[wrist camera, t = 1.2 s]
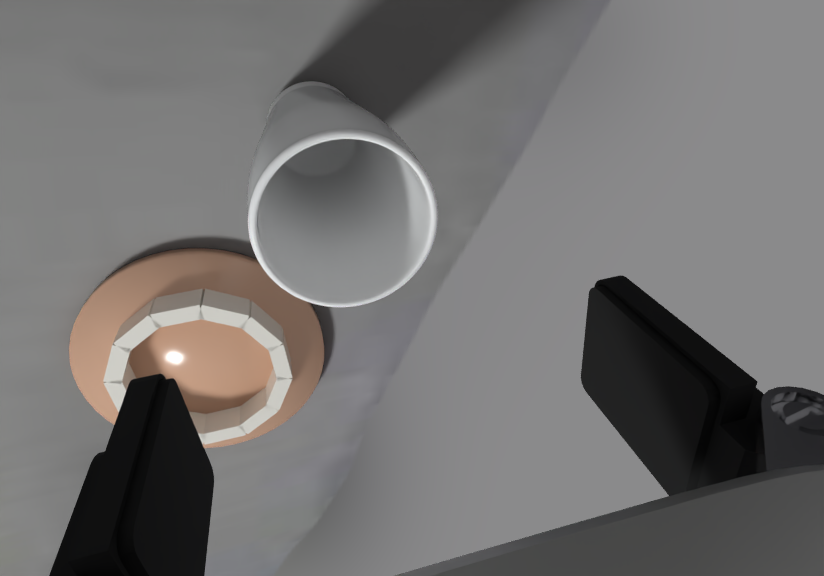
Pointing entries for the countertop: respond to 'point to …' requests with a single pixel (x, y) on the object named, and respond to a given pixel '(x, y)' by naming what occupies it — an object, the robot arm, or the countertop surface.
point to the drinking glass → (336, 200)
